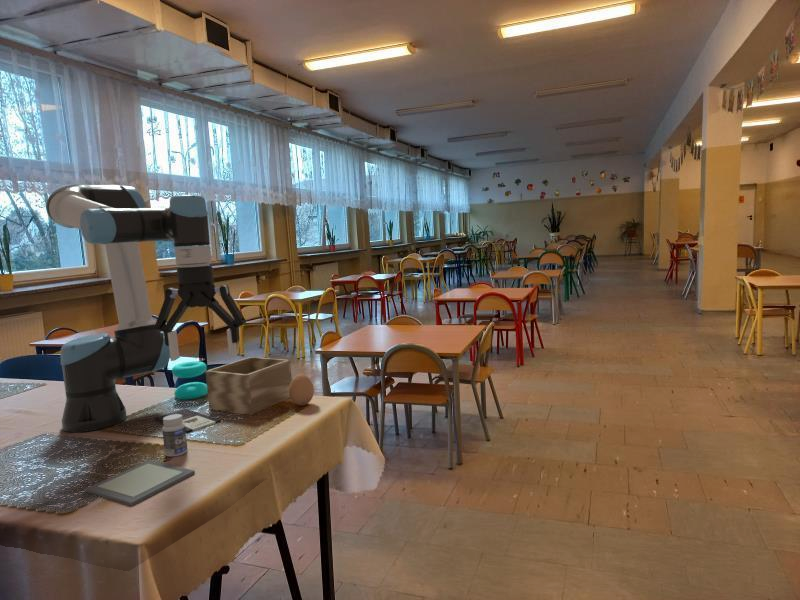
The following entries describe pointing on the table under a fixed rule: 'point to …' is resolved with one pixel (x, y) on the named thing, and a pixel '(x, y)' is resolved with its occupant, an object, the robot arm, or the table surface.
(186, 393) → the donuts
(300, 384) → the egg
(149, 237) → the robot arm
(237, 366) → the bin
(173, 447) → the pill bottle
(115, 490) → the coaster
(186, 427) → the chocolate bar
